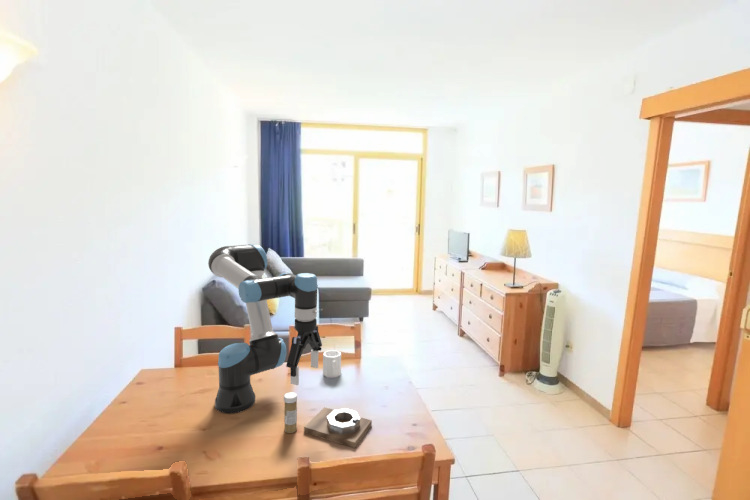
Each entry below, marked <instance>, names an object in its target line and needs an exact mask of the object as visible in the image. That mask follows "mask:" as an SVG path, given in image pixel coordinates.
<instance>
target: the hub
mask: <svg viewBox="0 0 750 500" xmlns="http://www.w3.org/2000/svg"><path fill="white" fill-rule="evenodd" d="M332 410H333V411H332V412H331V413H330V414H329V415H328V416H327V426H328V428H329V430H330V432H333V433H336V434H339V435H346V434H350V433H354V432H355V431H356V430H357V429H358V427H359V426H360V417H361V416H359V413H358V412H357V410H353V409H349V408H346V407H344V408H339V409H332ZM344 419H345V420H348V421H350V422H346V423H340V422H337V421H339V420H344Z"/></svg>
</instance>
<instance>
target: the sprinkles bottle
mask: <svg viewBox="0 0 750 500" xmlns="http://www.w3.org/2000/svg"><path fill="white" fill-rule="evenodd" d="M297 401H298V394H297V393H296V392H294V391H291V392H290V391H289V392H286V393H284V395H283V402H284V410H283V412H284V413H283V415H284V416H283V417H284V418H283V419H284V428H283V430H284V432H285V433H286V434H293V433H295V432H296V431H297V430H298V427H297V421H298V406H297V405H298V403H297Z"/></svg>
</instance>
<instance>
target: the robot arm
mask: <svg viewBox="0 0 750 500" xmlns="http://www.w3.org/2000/svg"><path fill="white" fill-rule="evenodd" d="M207 264H208V268H209V270H210V272H211V273H212V274H213V275H215V276H216V277H219V278H222V279H224V280H226V281H227V282H228V283H230V284H231V285H233V286H234V287H235V288H236V289H237V290H238V296H239V298H240V300H241V302H242V303H245V307H246V312H247V316H248V322H249V325H250V333H251V337H250V339H249V343H247V342H236V343H235V342H234V343H231V344H229V345H226V346H225V347H223V348H222V349H221V350H220V352H219V353H218V361H217V366H218V367H217V368H218V390H217V393H216V397H215V399H214V408H215V410H216V411H217V412H219V413H221V414H229V415H230V414H238V413H243V412H245V411H247V410H249V409H250V408H252V407H253V406H254V405H255V404H256V393H255V391H254V390H253V389H254V388H253V385H252V382H251V376H253V375H256V374H260V373H263V372H266V371H270V370H274V369H276V368H278V367H281V366H282V365H284V363H285V361H286V358H287V362H286V365H285V367H286V368H290V384H291V385H293V386H294V385H296V386H298V385H299V384H300V382H299V381H300V375H299V374H300V367H299V366H298V365H299V362H300V360H301V357H302V354H303V351H304V349H306V347H307V345H309V346H310V348H311V350H310V368H314V369H318V368H319V351H322V346H323V343H322V339H321V336H320V333H319V326H318V325H317V321H318V319H317V315H318V314H317V313H318V310H317V309H318V307H317V306H318V288H319V287H318V285H319V284H318V277H317V276H316V274H314V273H309V272H303V273H302V272H301V273H297V274H294V273H290V272H282V273H281V274H279V275H278V276H270V277H263V275H264V274H265V270H266V269H267V267H268V257H267V253H266V251H265V249H264V248H263V247H262V246H261V245H259V244H250V243H248V244H241V245H240V244H239V245H227V246H221V247H219V248H216V249H215V250H214V251H213V252H212V253H211V254H210V256H209V258H208V263H207ZM285 297H291V298H294V330H295V331H296V332H297V336H295V337H294V336H292V337H291V344H290V345H291V346H290V349H289V352H288V353H289V354H288V357H287V346H286V342H284V341H285V340H284V339H283V338H282V337H279V334H278V333H277V332H275V331H274V329H273V324H272V320H271V315H270V309H269V306H268V302H267V301H268V300H273V299H279V298H285Z"/></svg>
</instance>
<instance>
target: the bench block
mask: <svg viewBox="0 0 750 500" xmlns="http://www.w3.org/2000/svg"><path fill="white" fill-rule="evenodd" d="M333 410H334V409H332V408H328V407H323V408H322V409H321V410H320V411H319V412H318V413H316V415H315V416H314V417H312V419H311V420H310V421H309V422H308V423H307V424H305V425H304V426H303V432H304V433H306V434H308V435H312V436H314V437H319V438H322V439H325V440H327V441H331V442H333V443H338V444H341V445H344V446H347V447H351V448H354V449H355V448H357V446H358V444H359V443H360V442H361V441H362V439H363V437H364V436H365V435H366V434H367V432H368V431H369V429H370V428H371V426H372V423H373V422H372V420H371V419H369V418H364V417H361V416H359V417H360V426H359V427H358V429H357V430H356V431H355V432H354V433H350V434H346V435H339V434H336V433H333V432H330V430H329V428H328V426H327V416H328V415H329V414H330V413H331V412H332V411H333ZM337 422H340V423H346V422H350V421H348V420H345V419H344V420H339V421H337Z"/></svg>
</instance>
